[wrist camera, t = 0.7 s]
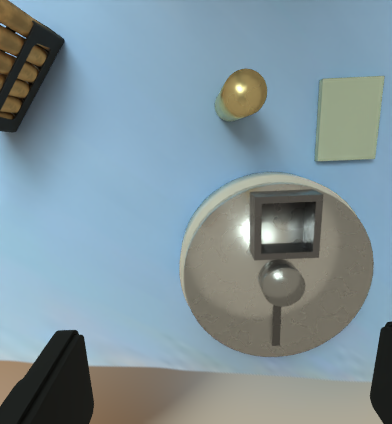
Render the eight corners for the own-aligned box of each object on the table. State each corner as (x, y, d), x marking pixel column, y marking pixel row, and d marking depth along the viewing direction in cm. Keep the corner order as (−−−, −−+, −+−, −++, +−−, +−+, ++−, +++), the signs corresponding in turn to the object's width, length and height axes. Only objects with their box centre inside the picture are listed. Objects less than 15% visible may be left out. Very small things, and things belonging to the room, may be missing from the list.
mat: (319, 80, 29) (322, 78, 28) (379, 77, 29) (384, 76, 28) (314, 160, 31) (317, 161, 30) (370, 158, 31) (375, 158, 30)
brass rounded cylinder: (214, 89, 29) (222, 69, 21) (246, 87, 29) (267, 67, 21) (215, 122, 30) (223, 116, 21) (245, 120, 30) (266, 115, 21)
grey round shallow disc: (179, 185, 28) (176, 193, 24) (374, 177, 28) (403, 183, 24) (188, 350, 33) (187, 378, 29) (355, 343, 33) (376, 370, 29)
